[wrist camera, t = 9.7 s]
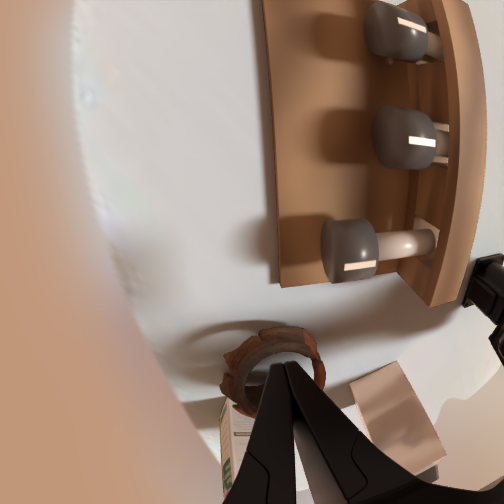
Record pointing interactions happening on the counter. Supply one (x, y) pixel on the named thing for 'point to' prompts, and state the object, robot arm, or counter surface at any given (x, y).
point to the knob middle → (407, 138)
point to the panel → (360, 137)
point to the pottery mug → (259, 349)
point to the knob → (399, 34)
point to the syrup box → (233, 442)
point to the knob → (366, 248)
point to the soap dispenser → (398, 421)
